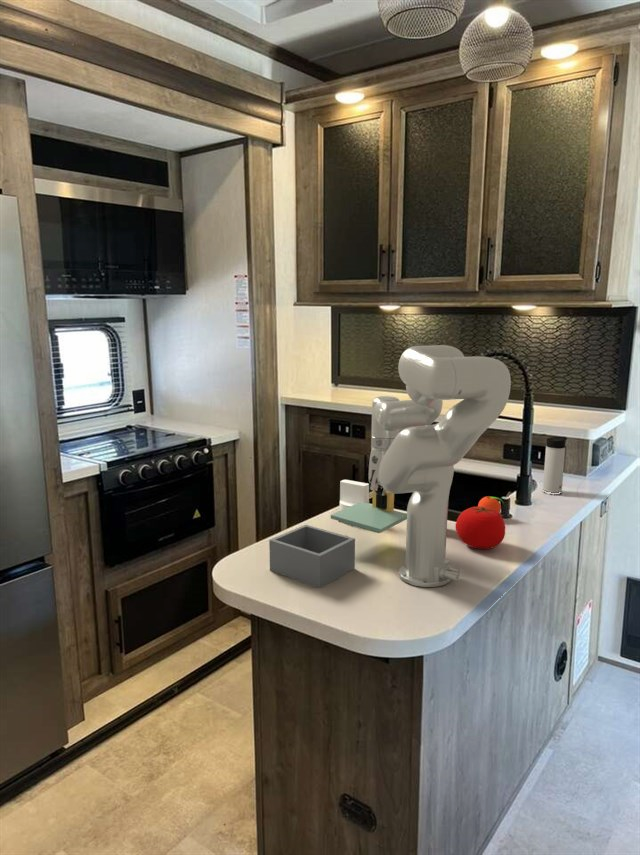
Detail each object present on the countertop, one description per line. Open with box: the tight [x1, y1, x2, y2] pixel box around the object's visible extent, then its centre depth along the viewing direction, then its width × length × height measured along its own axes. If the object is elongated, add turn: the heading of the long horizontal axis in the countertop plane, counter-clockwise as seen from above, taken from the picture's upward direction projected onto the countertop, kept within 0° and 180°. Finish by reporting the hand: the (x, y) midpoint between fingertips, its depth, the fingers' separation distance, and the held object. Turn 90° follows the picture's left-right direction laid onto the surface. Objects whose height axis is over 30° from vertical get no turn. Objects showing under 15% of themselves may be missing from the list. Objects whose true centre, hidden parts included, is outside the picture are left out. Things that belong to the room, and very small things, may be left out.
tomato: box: [455, 506, 506, 550], centre depth 169 cm, size 12×13×11 cm
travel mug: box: [542, 436, 568, 493], centre depth 216 cm, size 6×7×20 cm
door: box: [330, 490, 407, 534], centre depth 166 cm, size 16×14×7 cm
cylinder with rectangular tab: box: [339, 479, 370, 526], centre depth 189 cm, size 9×9×12 cm
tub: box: [268, 524, 356, 589], centre depth 154 cm, size 16×14×8 cm
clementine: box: [477, 495, 505, 514], centre depth 192 cm, size 8×7×7 cm
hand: (383, 506), depth 171 cm, fingers closed on door, 1 cm apart
